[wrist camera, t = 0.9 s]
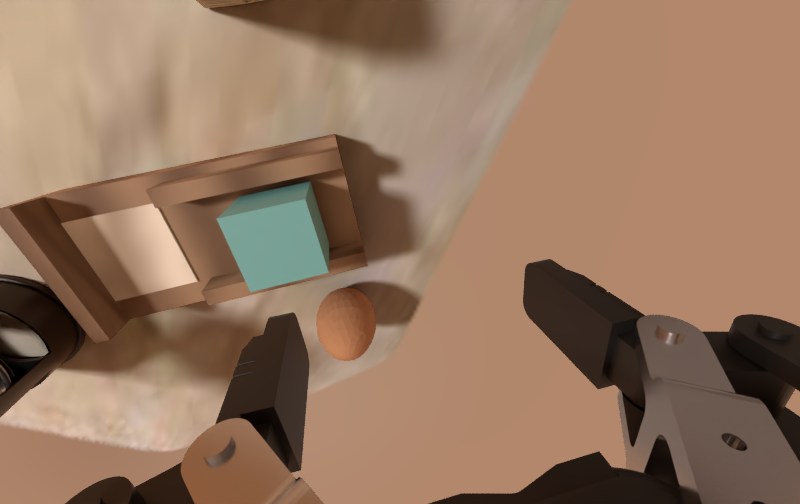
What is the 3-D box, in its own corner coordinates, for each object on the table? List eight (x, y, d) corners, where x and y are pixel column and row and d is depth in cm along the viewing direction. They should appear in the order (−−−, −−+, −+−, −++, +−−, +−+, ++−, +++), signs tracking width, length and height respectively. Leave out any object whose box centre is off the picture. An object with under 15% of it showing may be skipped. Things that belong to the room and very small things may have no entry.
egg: (307, 291, 30) (300, 348, 23) (354, 266, 30) (361, 314, 23) (335, 327, 32) (337, 389, 25) (379, 304, 32) (393, 358, 25)
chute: (334, 134, 25) (335, 140, 20) (363, 246, 29) (369, 274, 24) (62, 189, 23) (-11, 211, 18) (137, 301, 27) (95, 343, 22)
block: (310, 181, 23) (305, 199, 18) (329, 243, 25) (328, 273, 20) (239, 196, 22) (216, 218, 18) (265, 258, 24) (250, 292, 20)
